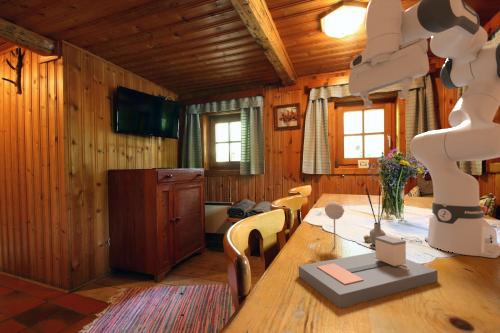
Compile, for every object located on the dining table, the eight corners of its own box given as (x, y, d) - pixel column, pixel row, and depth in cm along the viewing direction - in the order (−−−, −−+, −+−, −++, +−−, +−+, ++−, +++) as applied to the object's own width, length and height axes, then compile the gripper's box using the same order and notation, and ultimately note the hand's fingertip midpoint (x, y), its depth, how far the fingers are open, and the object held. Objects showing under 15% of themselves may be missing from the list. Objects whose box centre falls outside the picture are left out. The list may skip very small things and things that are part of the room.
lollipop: (346, 245, 78) (345, 201, 79) (342, 250, 73) (342, 203, 74) (327, 242, 82) (326, 200, 82) (322, 247, 77) (322, 202, 77)
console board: (383, 259, 66) (382, 249, 66) (437, 281, 53) (437, 269, 53) (298, 276, 56) (298, 264, 56) (340, 308, 43) (339, 293, 43)
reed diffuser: (395, 248, 75) (394, 186, 75) (379, 251, 72) (378, 187, 73) (368, 240, 84) (368, 184, 85) (354, 242, 82) (353, 185, 82)
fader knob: (387, 256, 61) (386, 235, 61) (406, 263, 56) (405, 241, 56) (375, 258, 59) (375, 237, 59) (394, 266, 54) (393, 243, 55)
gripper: (433, 37, 57) (434, 93, 57) (358, 69, 74) (358, 112, 74) (421, 30, 54) (422, 89, 53) (345, 65, 71) (345, 109, 71)
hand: (384, 103), depth 64 cm, fingers open, 8 cm apart
